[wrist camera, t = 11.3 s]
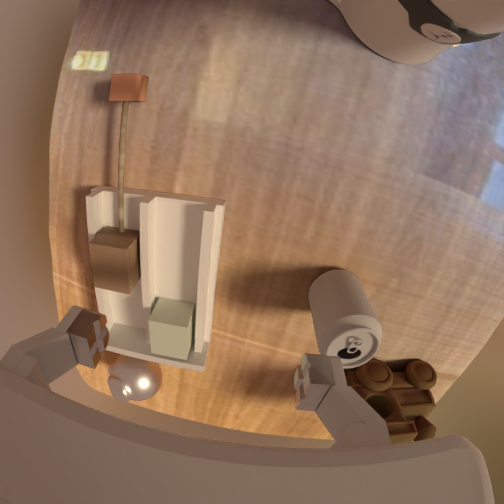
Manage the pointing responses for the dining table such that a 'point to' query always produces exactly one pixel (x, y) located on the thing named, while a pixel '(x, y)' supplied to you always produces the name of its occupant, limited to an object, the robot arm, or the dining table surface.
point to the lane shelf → (161, 266)
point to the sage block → (172, 328)
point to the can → (344, 318)
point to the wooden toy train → (398, 397)
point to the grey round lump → (134, 378)
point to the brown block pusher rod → (119, 207)
